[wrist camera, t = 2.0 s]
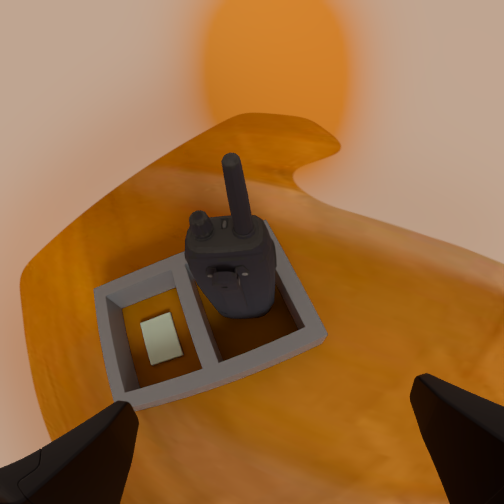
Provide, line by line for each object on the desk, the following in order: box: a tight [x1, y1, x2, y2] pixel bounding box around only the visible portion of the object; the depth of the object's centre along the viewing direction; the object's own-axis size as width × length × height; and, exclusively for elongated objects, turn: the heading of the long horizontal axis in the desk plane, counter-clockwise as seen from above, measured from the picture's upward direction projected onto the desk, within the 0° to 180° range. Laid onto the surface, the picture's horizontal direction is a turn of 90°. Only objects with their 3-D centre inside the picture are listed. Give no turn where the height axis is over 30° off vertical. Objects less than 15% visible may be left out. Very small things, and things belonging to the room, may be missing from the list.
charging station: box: [94, 220, 328, 411], centre depth 21 cm, size 17×11×3 cm
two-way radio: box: [184, 153, 277, 319], centre depth 17 cm, size 6×4×15 cm
